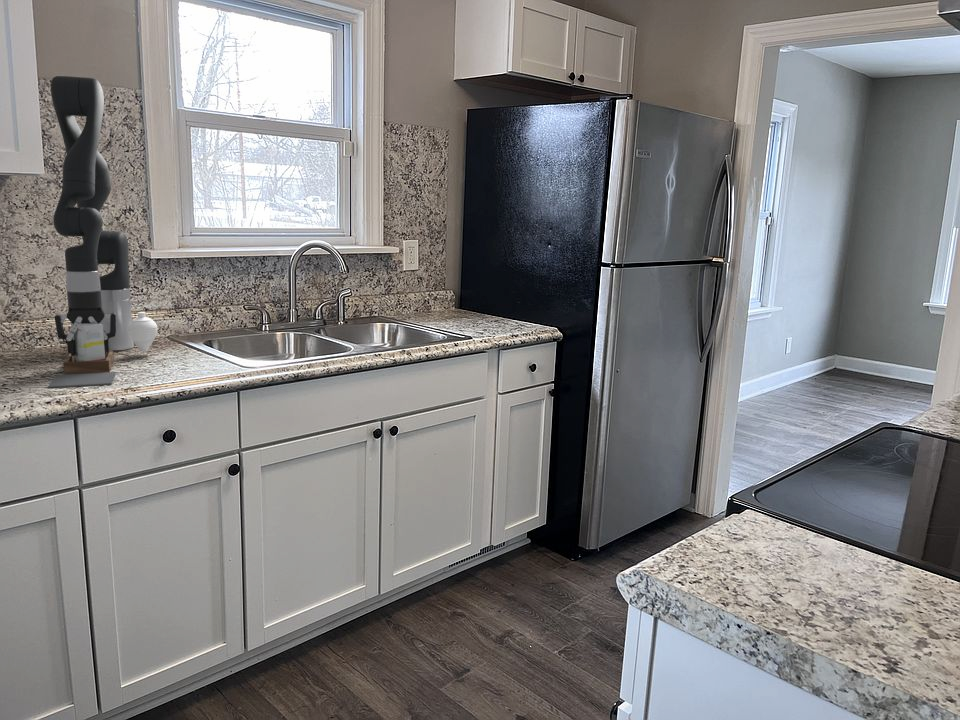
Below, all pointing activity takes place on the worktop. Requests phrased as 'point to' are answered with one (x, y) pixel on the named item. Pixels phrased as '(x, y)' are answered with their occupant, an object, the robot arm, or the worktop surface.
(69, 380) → the rubber mat
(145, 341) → the spinning top
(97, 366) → the holder box
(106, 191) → the robot arm
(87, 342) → the ink box
